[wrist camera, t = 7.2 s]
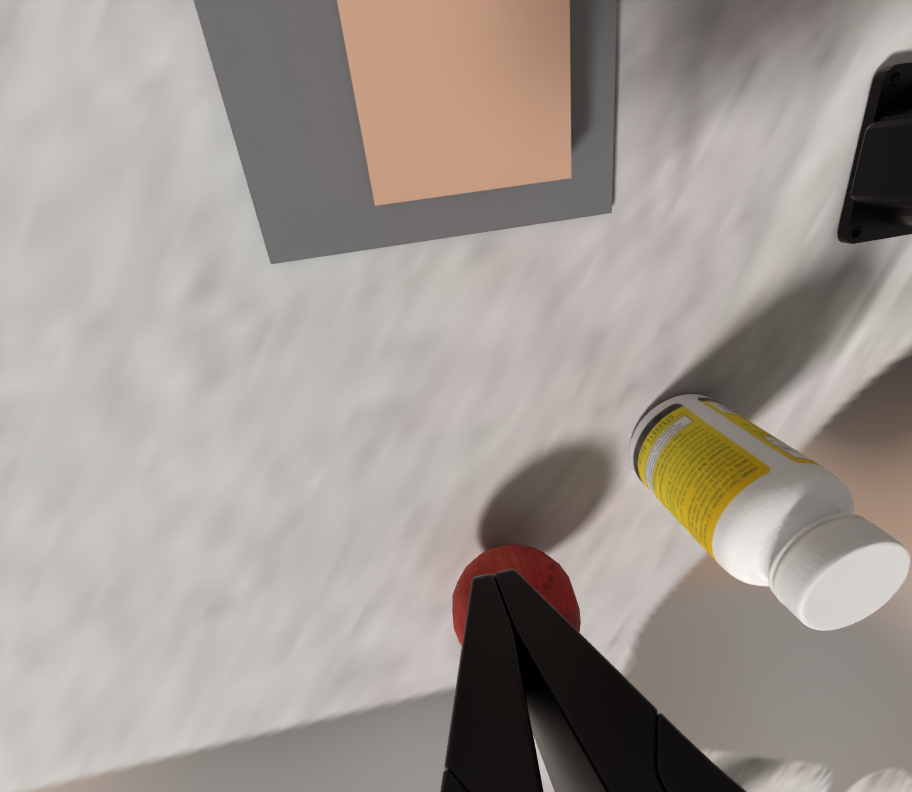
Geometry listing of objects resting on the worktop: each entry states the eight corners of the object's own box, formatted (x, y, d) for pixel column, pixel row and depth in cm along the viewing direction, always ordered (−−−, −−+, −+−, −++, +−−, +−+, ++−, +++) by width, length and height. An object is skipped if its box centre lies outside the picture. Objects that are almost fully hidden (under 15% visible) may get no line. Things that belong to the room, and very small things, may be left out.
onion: (529, 493, 23) (601, 629, 16) (557, 567, 26) (630, 712, 19) (425, 538, 23) (451, 693, 16) (464, 607, 26) (501, 767, 19)
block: (316, -107, 13) (540, -122, 13) (374, 203, 16) (549, 178, 17) (308, -156, 11) (567, -170, 12) (375, 205, 14) (571, 178, 15)
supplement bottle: (623, 491, 24) (766, 662, 16) (627, 402, 22) (798, 544, 13) (715, 470, 25) (904, 624, 16) (729, 381, 23) (958, 505, 14)
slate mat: (615, -190, 13) (622, -201, 13) (606, 212, 18) (611, 212, 18) (148, -166, 12) (141, -177, 12) (273, 262, 17) (271, 264, 16)
